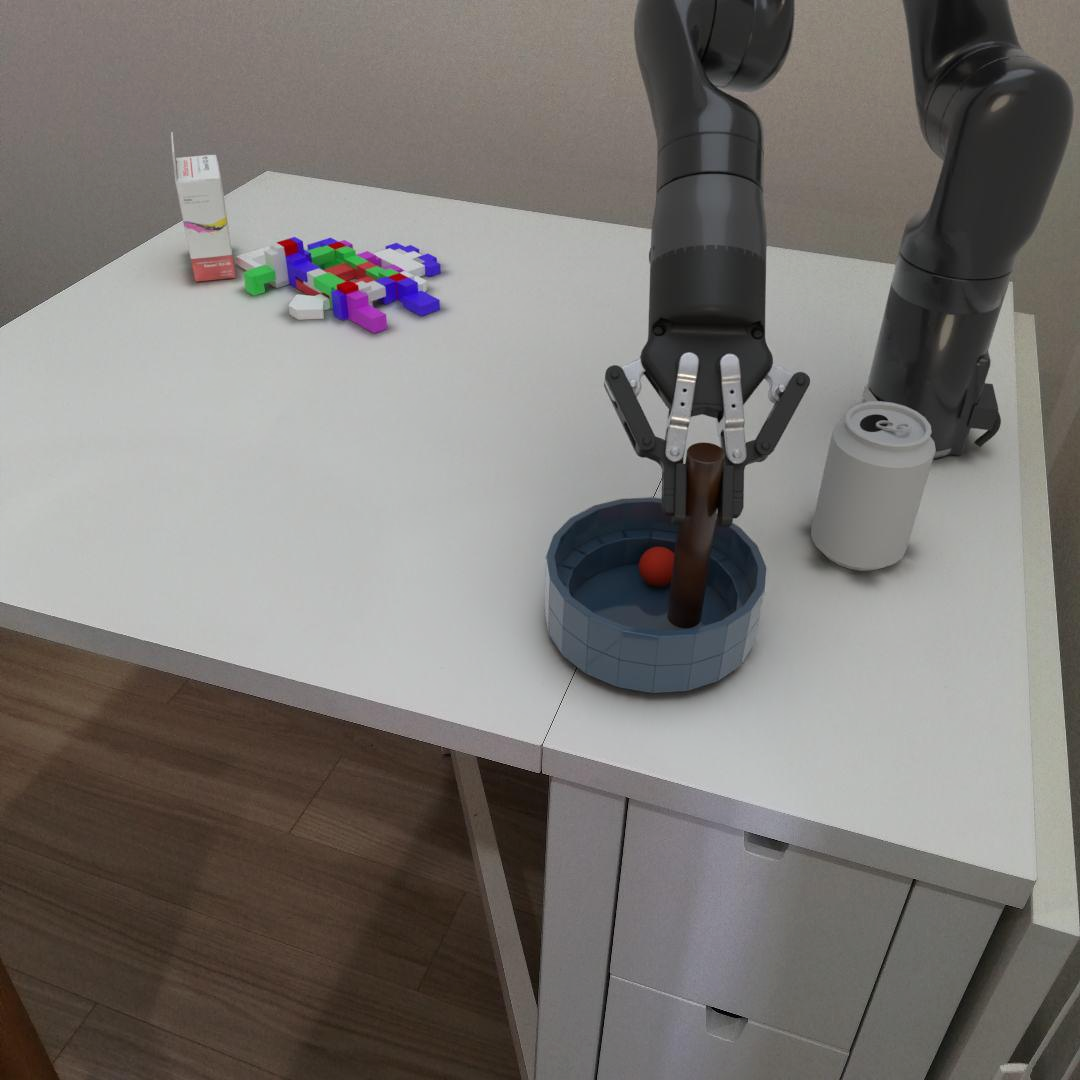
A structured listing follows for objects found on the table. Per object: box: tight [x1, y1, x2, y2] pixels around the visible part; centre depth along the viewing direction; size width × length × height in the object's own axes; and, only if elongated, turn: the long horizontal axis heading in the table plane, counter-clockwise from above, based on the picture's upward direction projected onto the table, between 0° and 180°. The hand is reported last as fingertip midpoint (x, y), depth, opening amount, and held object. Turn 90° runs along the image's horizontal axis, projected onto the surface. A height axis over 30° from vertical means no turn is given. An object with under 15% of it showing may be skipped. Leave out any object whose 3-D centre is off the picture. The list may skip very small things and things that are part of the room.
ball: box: [639, 547, 674, 587], centre depth 79 cm, size 3×3×3 cm
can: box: [810, 401, 936, 572], centre depth 81 cm, size 8×8×12 cm
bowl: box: [544, 496, 767, 694], centre depth 76 cm, size 15×15×6 cm
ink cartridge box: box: [170, 131, 237, 282], centre depth 121 cm, size 9×5×15 cm, turn 17°
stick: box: [667, 442, 725, 629], centre depth 71 cm, size 2×2×14 cm
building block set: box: [235, 236, 442, 334], centre depth 121 cm, size 25×20×4 cm
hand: (701, 523), depth 67 cm, fingers closed on stick, 2 cm apart
